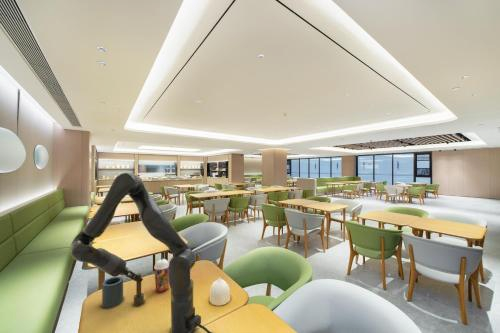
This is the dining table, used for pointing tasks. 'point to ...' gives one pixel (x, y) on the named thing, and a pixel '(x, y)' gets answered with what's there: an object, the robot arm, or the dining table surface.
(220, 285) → the white rounded dome
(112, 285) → the jar
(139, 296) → the brush
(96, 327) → the dining table surface
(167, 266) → the smoothie
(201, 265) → the dining table surface
